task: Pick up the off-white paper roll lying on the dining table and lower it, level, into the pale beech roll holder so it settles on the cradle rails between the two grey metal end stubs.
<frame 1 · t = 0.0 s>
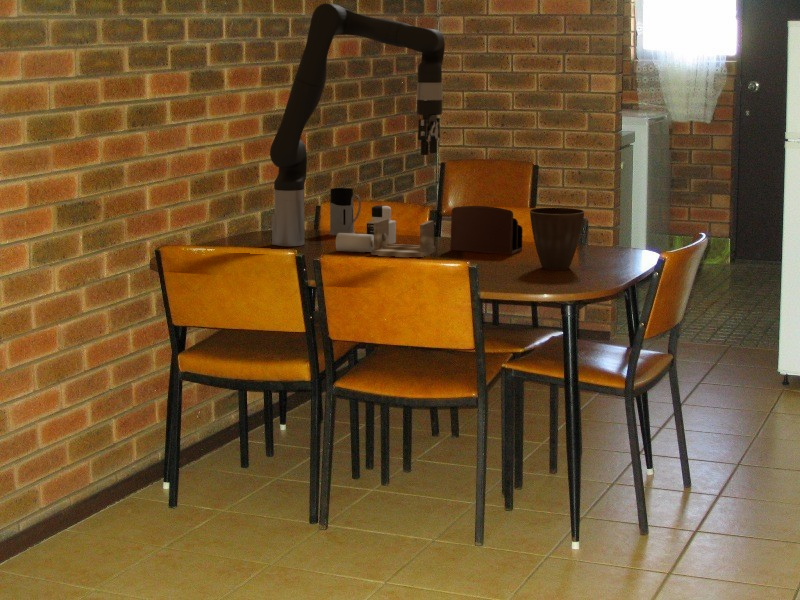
hand: (429, 154, 357), 29 cm above the table, tool pointing down, fingers open, 8 cm apart
paper roll: (355, 242, 363), point 3 cm above the table
roll holder: (403, 253, 360), on the table
glass holder: (347, 235, 400), on the table
letter holder: (486, 251, 367), on the table
plant pot: (555, 268, 334), on the table
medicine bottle: (381, 244, 380), on the table
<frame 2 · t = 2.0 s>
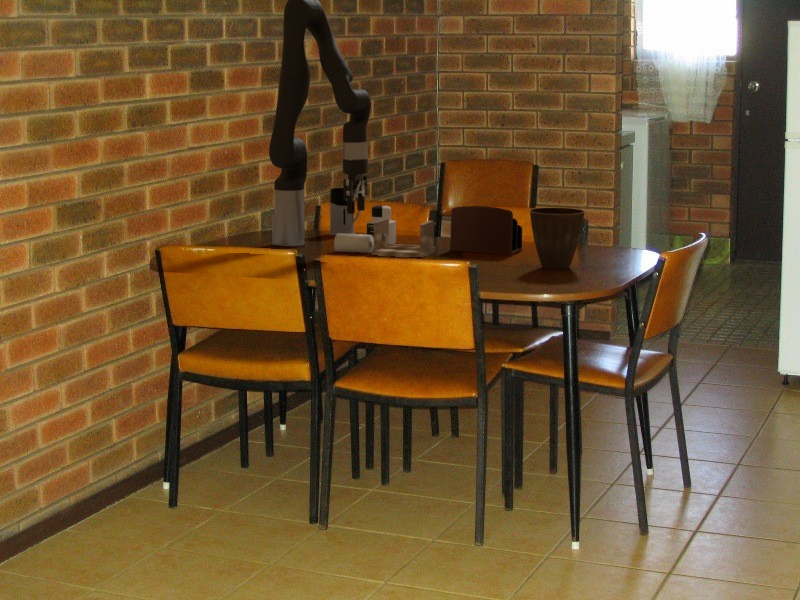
hand: (356, 212, 361), 12 cm above the table, tool pointing down, fingers open, 8 cm apart
paper roll: (354, 243, 362), point 3 cm above the table, tilted 24°
everything else where it was.
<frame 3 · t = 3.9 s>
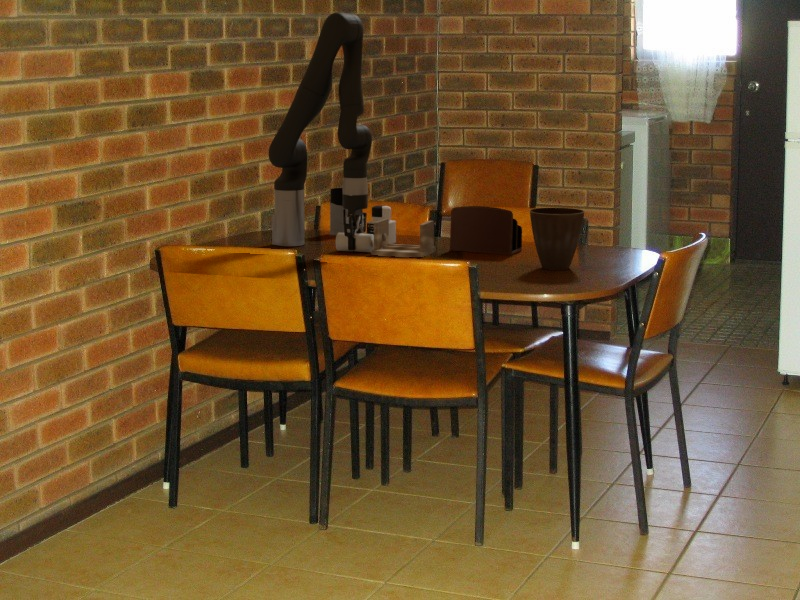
hand: (355, 248, 363), 1 cm above the table, tool pointing down, fingers closed on paper roll, 5 cm apart
paper roll: (355, 242, 363), point 3 cm above the table, touching gripper
everything else where it was.
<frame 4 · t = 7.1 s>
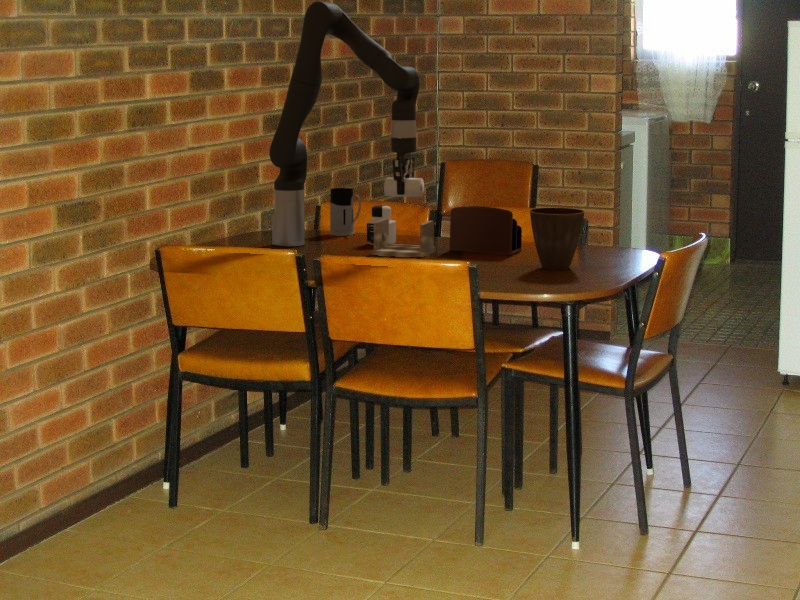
hand: (404, 193, 356), 18 cm above the table, tool pointing down, fingers closed on paper roll, 5 cm apart
paper roll: (404, 187, 356), point 20 cm above the table, touching gripper
when the fingers open (4 cm above the table, at t = 10.4 s): paper roll drops 1 cm, resting on roll holder.
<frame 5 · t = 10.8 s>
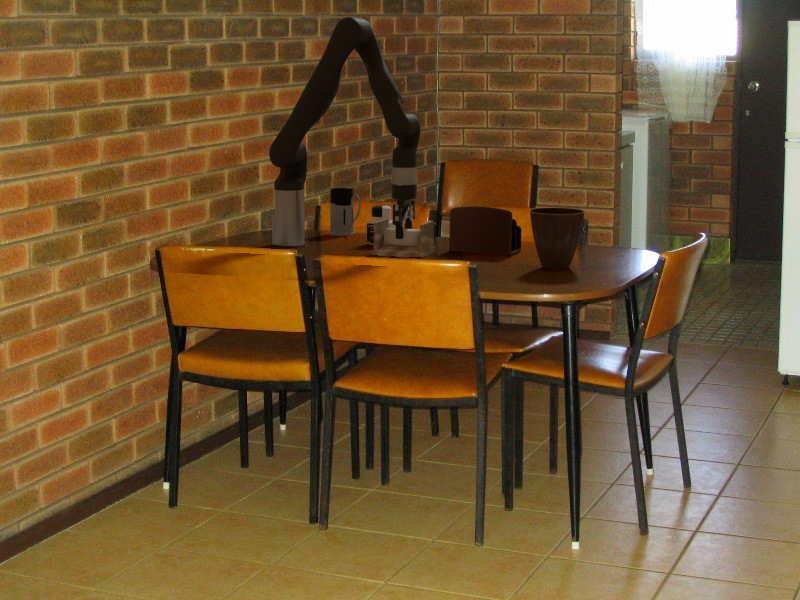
hand: (403, 237, 359), 5 cm above the table, tool pointing down, fingers open, 8 cm apart
paper roll: (403, 237, 359), point 5 cm above the table, touching roll holder
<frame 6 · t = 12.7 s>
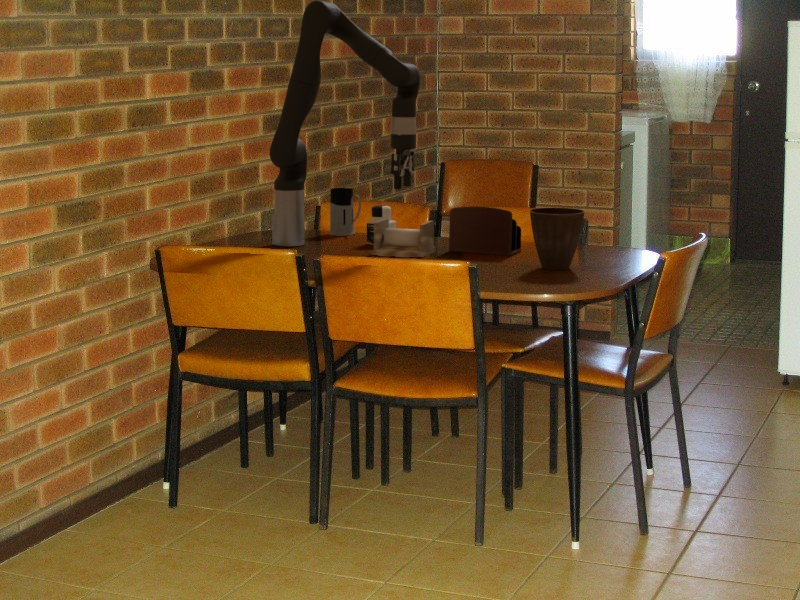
hand: (402, 187, 358), 19 cm above the table, tool pointing down, fingers open, 8 cm apart
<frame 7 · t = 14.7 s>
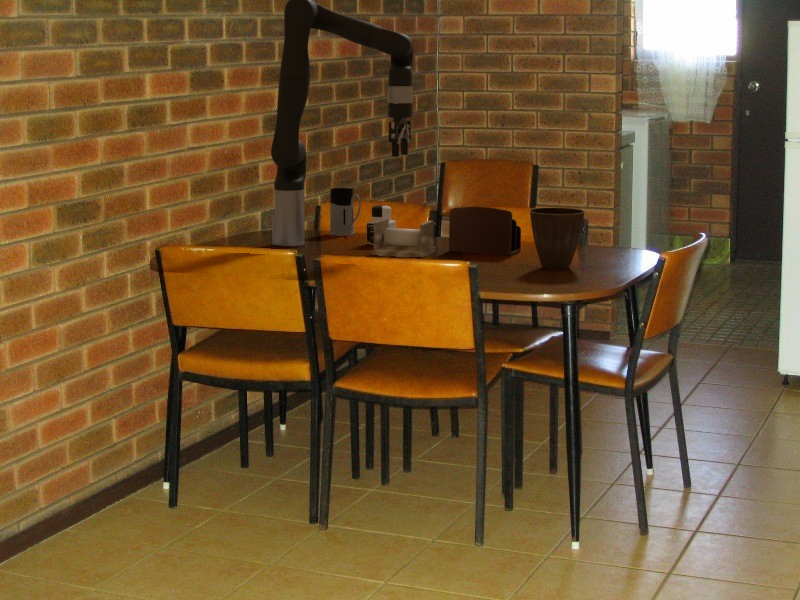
hand: (399, 155, 366), 28 cm above the table, tool pointing down, fingers open, 8 cm apart
at the end: paper roll 0.0 cm off-centre on the roll holder, point 4.6 cm above the roll holder's base; the gripper is holding nothing; paper roll touching roll holder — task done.
